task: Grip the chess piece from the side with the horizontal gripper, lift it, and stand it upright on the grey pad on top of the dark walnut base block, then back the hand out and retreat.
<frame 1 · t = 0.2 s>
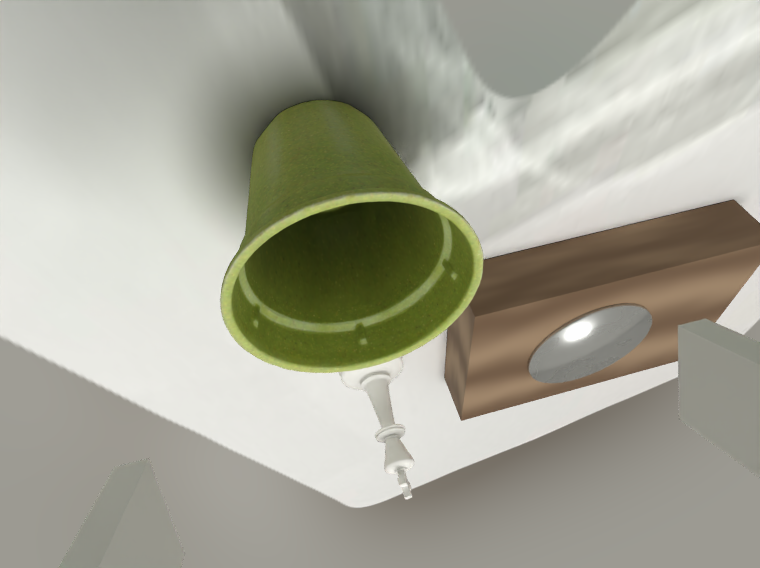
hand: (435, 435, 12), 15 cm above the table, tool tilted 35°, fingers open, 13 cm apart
plant pot: (316, 156, 24), on the table
chess piece: (370, 362, 38), on the table
walnut base: (573, 298, 38), on the table
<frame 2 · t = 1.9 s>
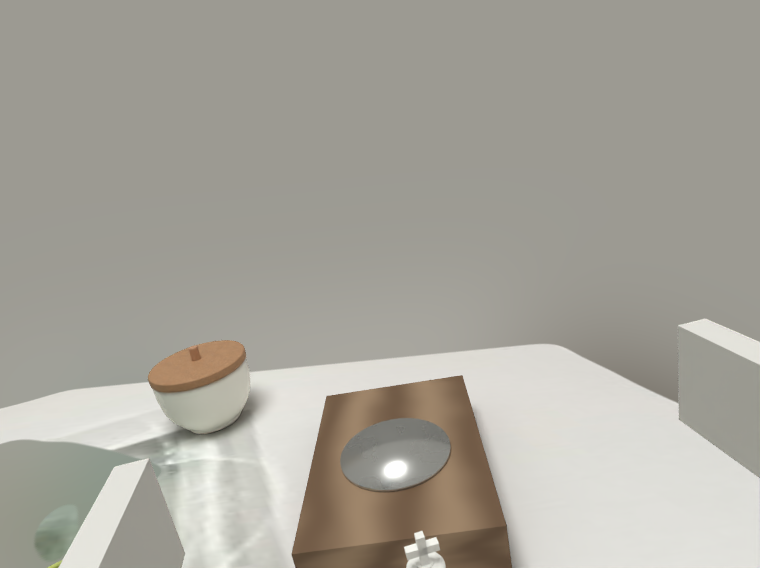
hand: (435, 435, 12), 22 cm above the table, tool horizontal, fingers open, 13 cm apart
lidded jar: (216, 420, 60), on the table
walnut base: (403, 485, 43), on the table
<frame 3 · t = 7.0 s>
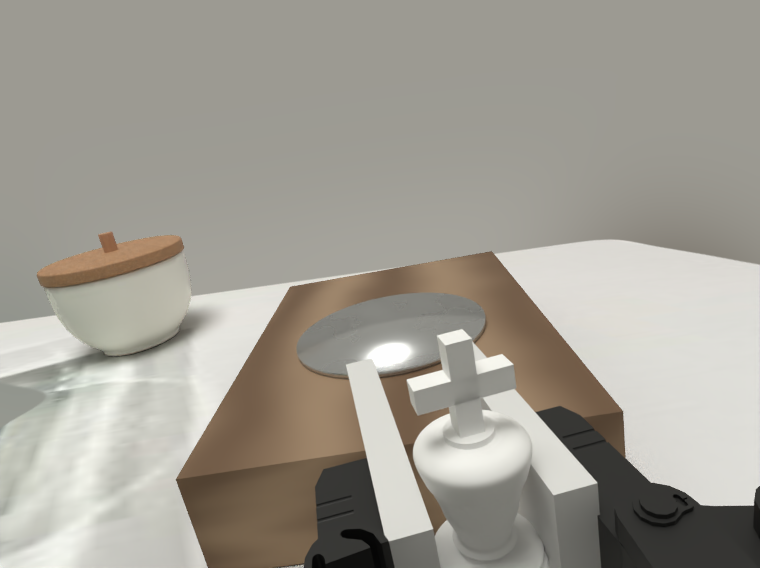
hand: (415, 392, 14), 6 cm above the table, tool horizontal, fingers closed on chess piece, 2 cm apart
lidded jar: (143, 342, 43), on the table
walnut base: (404, 394, 26), on the table
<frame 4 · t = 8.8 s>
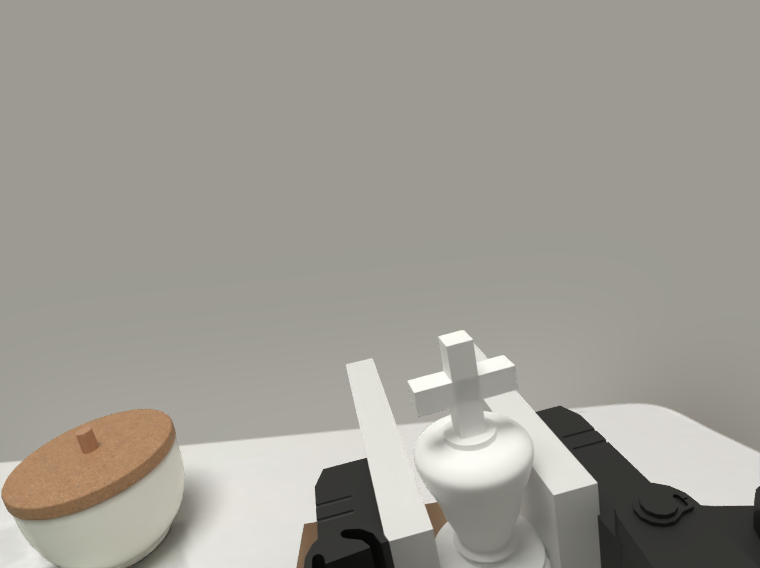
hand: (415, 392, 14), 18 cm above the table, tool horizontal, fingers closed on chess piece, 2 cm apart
lidded jar: (129, 541, 37), on the table
when the fingers open (12 cm above the table, at t = 10.7 s): chess piece drops 1 cm, resting on walnut base.
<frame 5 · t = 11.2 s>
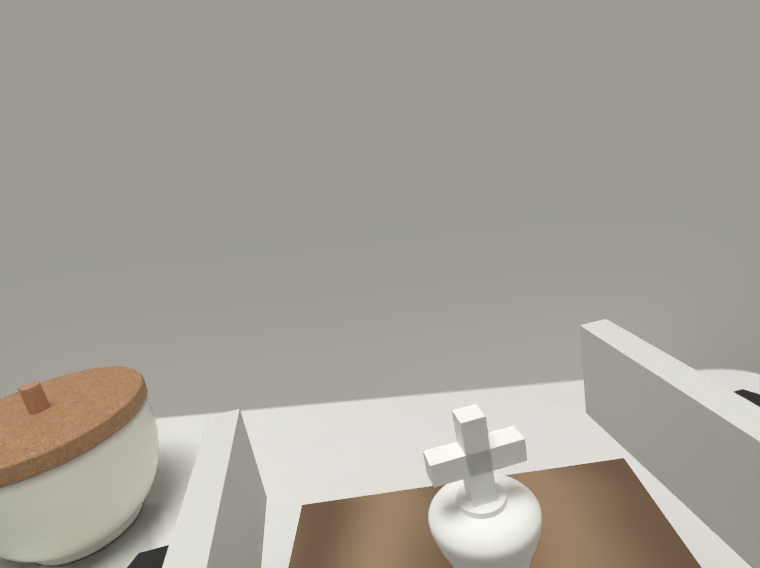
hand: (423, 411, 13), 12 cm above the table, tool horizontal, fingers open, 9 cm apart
lidded jar: (90, 526, 30), on the table
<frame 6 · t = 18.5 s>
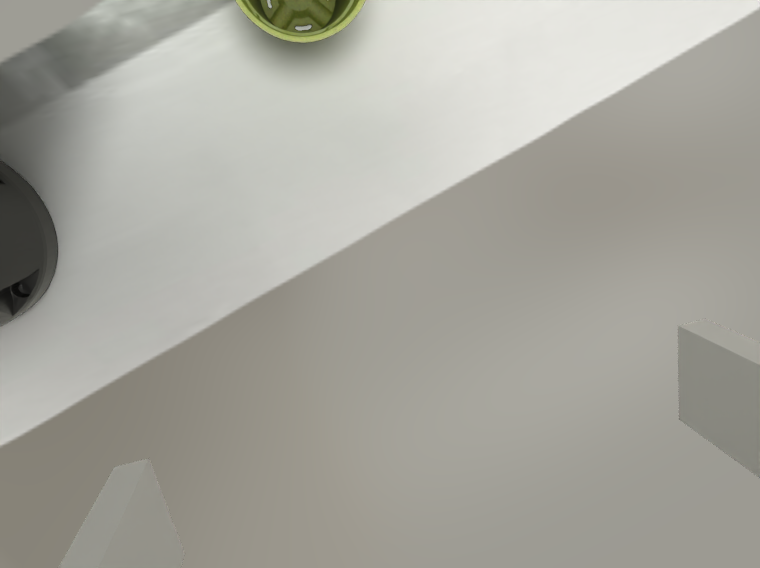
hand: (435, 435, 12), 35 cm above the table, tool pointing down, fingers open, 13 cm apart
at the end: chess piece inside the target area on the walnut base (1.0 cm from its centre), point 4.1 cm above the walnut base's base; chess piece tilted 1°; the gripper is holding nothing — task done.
